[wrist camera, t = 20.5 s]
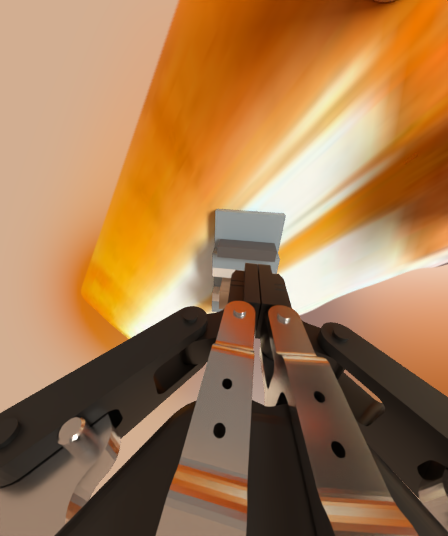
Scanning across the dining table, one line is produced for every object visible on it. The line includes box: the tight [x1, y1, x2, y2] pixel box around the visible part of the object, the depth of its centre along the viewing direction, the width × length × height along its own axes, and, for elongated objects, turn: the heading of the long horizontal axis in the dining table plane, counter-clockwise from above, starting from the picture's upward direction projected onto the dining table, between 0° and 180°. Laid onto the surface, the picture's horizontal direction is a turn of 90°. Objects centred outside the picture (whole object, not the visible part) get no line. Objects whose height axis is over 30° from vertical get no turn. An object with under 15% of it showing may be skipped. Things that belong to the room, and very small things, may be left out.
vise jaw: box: [212, 239, 280, 278], centre depth 35 cm, size 7×12×4 cm, turn 88°
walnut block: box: [219, 277, 231, 309], centre depth 36 cm, size 4×8×7 cm, turn 87°
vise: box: [212, 209, 285, 312], centre depth 37 cm, size 22×12×4 cm, turn 178°
